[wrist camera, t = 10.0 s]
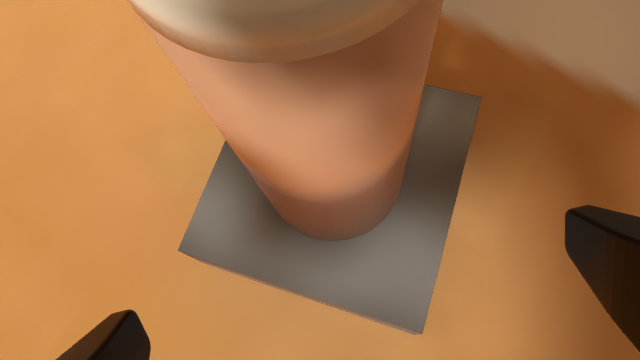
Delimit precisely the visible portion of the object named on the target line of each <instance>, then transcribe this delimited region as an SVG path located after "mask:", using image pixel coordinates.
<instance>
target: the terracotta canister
mask: <svg viewBox="0 0 640 360" xmlns="http://www.w3.org/2000/svg"><path fill="white" fill-rule="evenodd" d="M128 2H129V3H130V5H131V6H132V8H133V9H134V10H135V12H136V13H137V15H138V16H139V17H140V19H141V20H142V22H143V23H144V25H145V26H146V27H147V29H148V30H149V32H150V33H151V34H152V36H153V37H154V39H155V40H156V42H157V43H158V44H159V46H160V47H161V49H162V50H163V51H164V53H165V54H166V56H167V57H168V59H169V60H170V61H171V63H172V64H173V66H174V67H175V68H176V70H177V71H178V73H179V74H180V76H181V77H182V78H183V80H184V81H185V83H186V84H187V85H188V87H189V88H190V90H191V91H192V93H193V94H194V95H195V97H196V98H197V100H198V101H199V103H200V104H201V105H202V107H203V108H204V110H205V111H206V112H207V114H208V115H209V117H210V118H211V120H212V121H213V122H214V124H215V125H216V127H217V128H218V129H219V131H220V132H221V134H222V135H223V137H224V138H225V139H226V141H227V142H228V144H229V145H230V146H231V148H232V149H233V151H234V152H235V154H236V155H237V156H238V158H239V159H240V161H241V162H242V163H243V165H244V166H245V168H246V169H247V171H248V172H249V173H250V175H251V176H252V178H253V179H254V180H255V182H256V183H257V185H258V186H259V188H260V189H261V190H262V192H263V193H264V195H265V196H266V197H267V199H268V200H269V202H270V203H271V205H272V206H273V207H274V209H275V210H276V212H277V213H278V214H279V216H280V217H281V218H282V219H283V220H284V221H285V222H286V223H287V224H288V225H289V226H290V227H292V228H293V229H294V230H296V231H298V232H299V233H301V234H303V235H306V236H308V237H311V238H314V239H318V240H325V241H341V240H348V239H351V238H355V237H358V236H360V235H363V234H365V233H367V232H369V231H370V230H372V229H373V228H375V227H376V226H377V225H379V224H380V223H381V222H382V221H383V220H384V219H385V218H386V217H387V216H388V214H389V213H390V212H391V210H392V209H393V207H394V205H395V204H396V202H397V199H398V197H399V194H400V190H401V186H402V181H403V177H404V172H405V168H406V163H407V159H408V154H409V150H410V146H411V141H412V137H413V132H414V128H415V123H416V119H417V114H418V110H419V105H420V101H421V96H422V92H423V87H424V83H425V78H426V74H427V69H428V65H429V60H430V56H431V52H432V47H433V43H434V38H435V34H436V29H437V25H438V20H439V16H440V11H441V7H442V2H443V0H128Z"/></svg>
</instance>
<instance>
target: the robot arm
mask: <svg viewBox="0 0 640 360" xmlns="http://www.w3.org/2000/svg"><path fill="white" fill-rule="evenodd" d="M565 247H566V251H567V253H568V255H569V257H570V258H571V260H572V261H573V263H574V264H575V266H576V267H577V269H578V270H579V272H580V273H581V275H582V276H583V278H584V279H585V281H586V282H587V284H588V285H589V286H590V288H591V289H592V291H593V292H594V294H595V295H596V297H597V298H598V300H599V301H600V303H601V304H602V306H603V307H604V309H605V310H606V311H607V313H608V314H609V315H610V317H611V318H612V319H613V321H614V322H615V323H616V324H617V326H618V327H619V328H620V329H621V330H622V332H623V333H624V334H625V335H626V336H627V337H628V339H629V340H630V341H631V342H632V343H633V345H634V346H635V347H636V348H637V349H638V350H639V352H640V217H637V216H633V215H628V214H624V213H620V212H616V211H612V210H608V209H603V208H599V207H595V206H591V205H585V206H580V207H576V208H572V209H569V210H568V211H567V212H566V214H565ZM150 349H151V347H150V340H149V338H148V335H147V333H146V331H145V329H144V327H143V325H142V323H141V321H140V319H139V317H138V315H137V314H136V312H135V311H133V310H125V311H120V312H116V313H113V314H111V315H109V316H108V317H107V318H106V319H105V320H103V321H102V322H101V323H100V324H99V325H97V326H96V327H95V328H94V329H92V330H91V331H90V332H89V333H88V334H86V335H85V336H84V337H83V338H82V339H80V340H79V341H78V342H77V343H75V344H74V345H73V346H72V347H71V348H69V349H68V350H67V351H66V352H64V353H63V354H62V355H61V356H60V357H58V358H57V359H56V360H149V357H150Z"/></svg>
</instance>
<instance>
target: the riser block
mask: <svg viewBox="0 0 640 360" xmlns="http://www.w3.org/2000/svg"><path fill="white" fill-rule="evenodd" d="M480 101H481V97H479V96H475V95H470V94H466V93H461V92H457V91H452V90H448V89H443V88H439V87H434V86H430V85H425V84H424V87H423V92H422V96H421V101H420V105H419V110H418V114H417V119H416V123H415V128H414V132H413V137H412V141H411V146H410V150H409V154H408V159H407V163H406V168H405V172H404V177H403V181H402V186H401V190H400V194H399V197H398V199H397V202H396V204H395V205H394V207H393V209H392V210H391V212H390V213H389V214H388V216H387V217H386V218H385V219H384V220H383V221H382V222H381V223H380V224H379V225H377V226H376V227H375V228H373V229H372V230H370V231H369V232H367V233H365V234H363V235H360V236H358V237H355V238H351V239H348V240H341V241H325V240H318V239H314V238H311V237H308V236H306V235H303V234H301V233H299V232H298V231H296V230H294V229H293V228H292V227H290V226H289V225H288V224H287V223H286V222H285V221H284V220H283V219H282V218H281V217H280V216H279V214H278V213H277V212H276V210H275V209H274V207H273V206H272V205H271V203H270V202H269V200H268V199H267V197H266V196H265V195H264V193H263V192H262V190H261V189H260V188H259V186H258V185H257V183H256V182H255V180H254V179H253V178H252V176H251V175H250V173H249V172H248V171H247V169H246V168H245V166H244V165H243V163H242V162H241V161H240V159H239V158H238V156H237V155H236V154H235V152H234V151H233V149H232V148H231V146H230V145H229V144H228V142H227V141H226V140H225V143H224V145H223V147H222V150H221V152H220V154H219V157H218V159H217V161H216V164H215V166H214V168H213V170H212V173H211V175H210V177H209V180H208V182H207V184H206V187H205V189H204V191H203V194H202V196H201V198H200V201H199V203H198V205H197V207H196V210H195V212H194V214H193V217H192V219H191V221H190V224H189V226H188V228H187V231H186V233H185V235H184V237H183V240H182V242H181V244H180V247H179V249H178V251H180V252H182V253H184V254H186V255H188V256H190V257H192V258H194V259H196V260H198V261H201V262H203V263H205V264H208V265H211V266H214V267H217V268H220V269H223V270H226V271H229V272H232V273H234V274H237V275H240V276H243V277H246V278H249V279H252V280H255V281H258V282H261V283H264V284H267V285H270V286H273V287H276V288H279V289H281V290H284V291H287V292H290V293H293V294H296V295H299V296H302V297H305V298H308V299H311V300H314V301H317V302H320V303H323V304H325V305H328V306H331V307H334V308H337V309H340V310H343V311H346V312H349V313H352V314H355V315H358V316H361V317H364V318H367V319H370V320H372V321H375V322H378V323H381V324H384V325H387V326H390V327H393V328H396V329H399V330H402V331H405V332H408V333H411V334H414V335H417V334H422V333H423V329H424V325H425V321H426V317H427V313H428V309H429V305H430V301H431V297H432V293H433V289H434V285H435V281H436V277H437V273H438V269H439V265H440V261H441V257H442V253H443V249H444V245H445V241H446V237H447V233H448V229H449V225H450V221H451V217H452V213H453V209H454V205H455V201H456V197H457V193H458V189H459V185H460V181H461V177H462V173H463V169H464V165H465V161H466V157H467V153H468V149H469V145H470V141H471V137H472V133H473V129H474V125H475V121H476V117H477V113H478V109H479V105H480Z"/></svg>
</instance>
